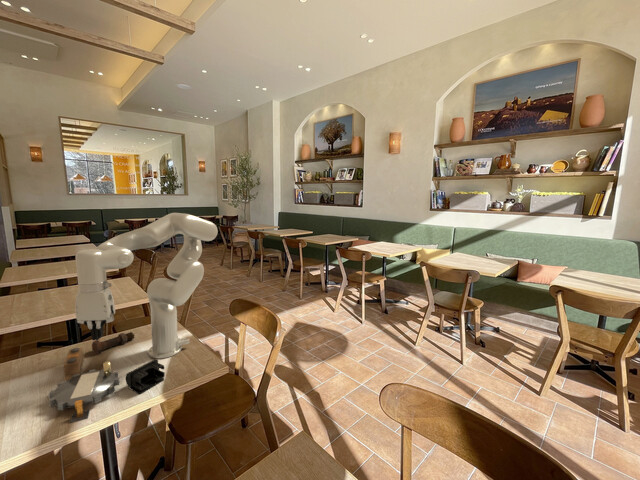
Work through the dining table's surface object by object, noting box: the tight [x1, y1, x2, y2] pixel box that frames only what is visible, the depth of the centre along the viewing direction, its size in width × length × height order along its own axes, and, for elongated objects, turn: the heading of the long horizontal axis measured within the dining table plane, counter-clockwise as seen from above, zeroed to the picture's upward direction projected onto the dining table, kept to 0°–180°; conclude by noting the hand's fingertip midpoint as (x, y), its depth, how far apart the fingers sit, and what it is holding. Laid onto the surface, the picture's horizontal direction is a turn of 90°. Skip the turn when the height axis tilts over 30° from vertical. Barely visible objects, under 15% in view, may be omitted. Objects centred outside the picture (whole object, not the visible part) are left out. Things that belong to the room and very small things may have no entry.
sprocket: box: [48, 360, 121, 411], centre depth 97 cm, size 18×18×6 cm
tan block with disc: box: [63, 346, 85, 381], centre depth 110 cm, size 4×12×7 cm, turn 32°
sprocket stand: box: [70, 402, 90, 423], centre depth 93 cm, size 6×16×4 cm, turn 30°
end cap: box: [125, 358, 165, 395], centre depth 104 cm, size 10×7×7 cm
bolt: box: [91, 331, 135, 355], centre depth 128 cm, size 6×5×15 cm
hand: (97, 338), depth 101 cm, fingers closed
